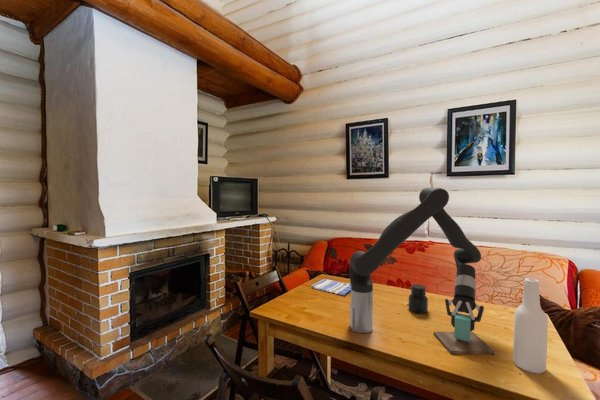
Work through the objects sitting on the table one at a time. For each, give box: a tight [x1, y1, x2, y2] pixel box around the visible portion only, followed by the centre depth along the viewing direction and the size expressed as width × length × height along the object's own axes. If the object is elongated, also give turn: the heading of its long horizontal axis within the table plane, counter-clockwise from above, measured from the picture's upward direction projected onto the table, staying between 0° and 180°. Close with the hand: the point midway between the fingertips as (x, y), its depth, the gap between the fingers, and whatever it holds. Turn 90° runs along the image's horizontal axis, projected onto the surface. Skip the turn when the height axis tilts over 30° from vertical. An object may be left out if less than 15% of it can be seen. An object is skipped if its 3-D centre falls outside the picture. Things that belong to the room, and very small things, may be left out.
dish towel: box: [311, 278, 351, 297], centre depth 174 cm, size 17×24×3 cm
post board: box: [433, 331, 496, 355], centre depth 112 cm, size 16×14×7 cm
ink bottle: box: [408, 283, 429, 314], centre depth 143 cm, size 10×9×12 cm
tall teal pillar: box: [454, 312, 472, 342], centre depth 112 cm, size 5×5×8 cm
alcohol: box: [512, 277, 549, 375], centre depth 97 cm, size 9×9×30 cm
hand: (462, 328), depth 110 cm, fingers closed on tall teal pillar, 5 cm apart
